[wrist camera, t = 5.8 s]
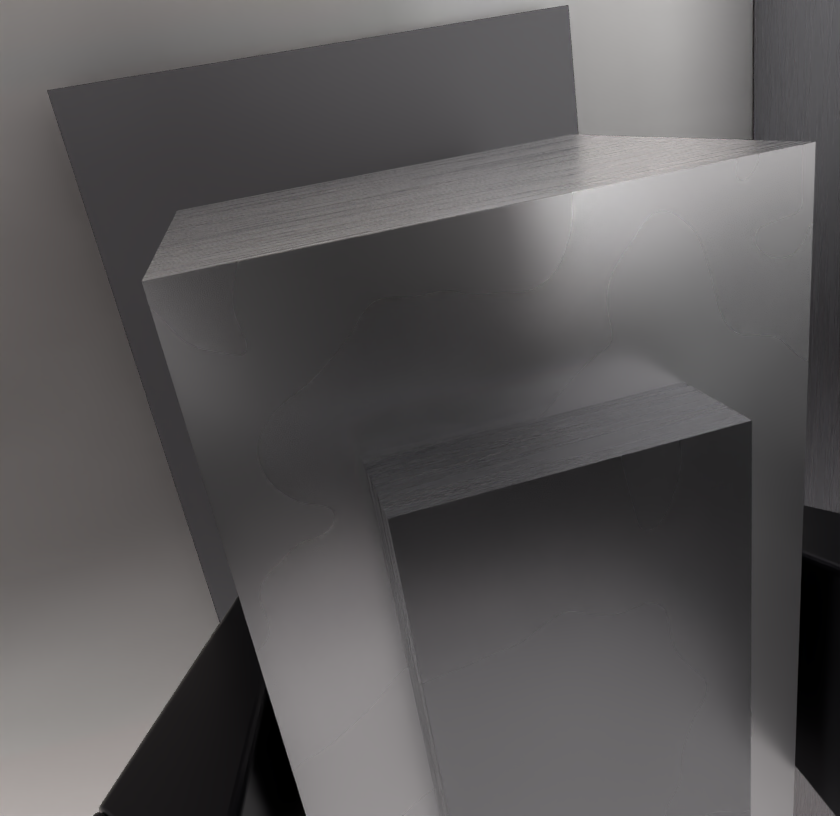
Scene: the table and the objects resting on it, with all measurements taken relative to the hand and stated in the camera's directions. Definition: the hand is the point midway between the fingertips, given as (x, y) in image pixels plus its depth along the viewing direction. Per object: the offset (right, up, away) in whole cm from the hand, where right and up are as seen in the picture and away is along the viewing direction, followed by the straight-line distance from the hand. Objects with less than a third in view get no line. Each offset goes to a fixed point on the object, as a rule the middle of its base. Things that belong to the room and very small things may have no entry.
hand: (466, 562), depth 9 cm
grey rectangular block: (0, 0, +1) cm, 1 cm away
